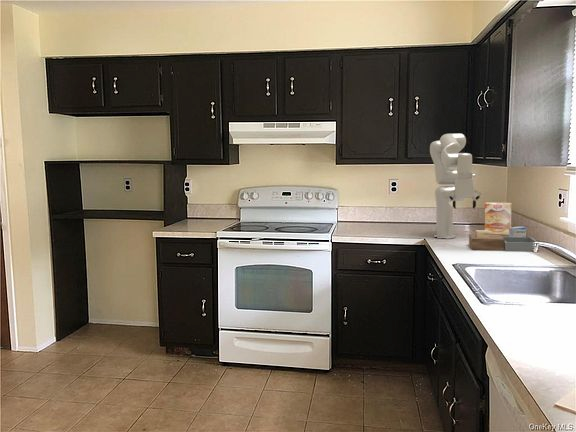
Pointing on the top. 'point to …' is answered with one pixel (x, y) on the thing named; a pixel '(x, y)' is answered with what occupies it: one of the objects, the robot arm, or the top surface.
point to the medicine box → (517, 231)
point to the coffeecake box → (498, 218)
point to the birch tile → (482, 233)
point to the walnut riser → (487, 242)
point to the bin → (518, 243)
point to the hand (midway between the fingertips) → (464, 208)
